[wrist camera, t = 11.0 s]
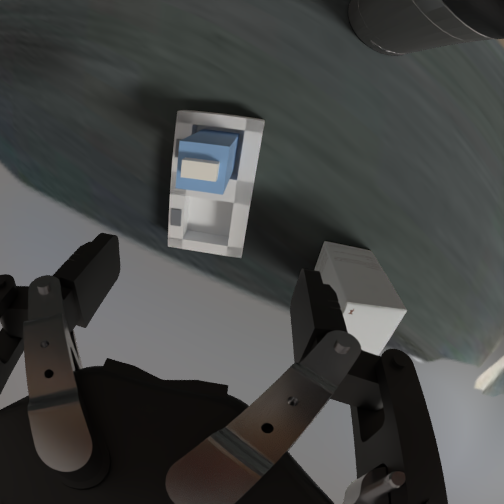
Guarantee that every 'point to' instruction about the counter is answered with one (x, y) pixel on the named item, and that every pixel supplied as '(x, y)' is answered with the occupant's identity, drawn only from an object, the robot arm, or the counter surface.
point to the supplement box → (361, 294)
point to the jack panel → (209, 204)
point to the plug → (206, 161)
